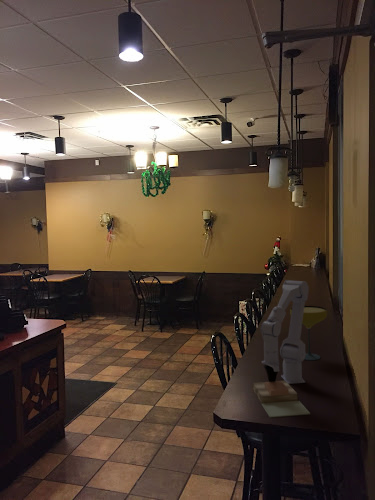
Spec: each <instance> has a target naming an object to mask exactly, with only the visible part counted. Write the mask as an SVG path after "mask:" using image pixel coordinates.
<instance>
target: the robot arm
mask: <svg viewBox="0 0 375 500" xmlns="http://www.w3.org/2000/svg"><path fill="white" fill-rule="evenodd" d="M281 289H282V294H281V296H280V298H279V301H278V302H277V306H274V307H273V308H272V310H271V312H270V313H269V315H268V317H267V319H266V320H264V321H263V322H262V323H261V325H260V329H259V331H260V333H261V336H262V340H263V356H264V357H263V360H262V361H261V364H262V365H263V367H264V370H265V372H266V375H267V379H268V382H275V381H277V376H278V373H279V372H280V369H281V367H280V360H279V355H280V357H281V358H282V360H283V361H282V374H281V375H280V377H281V378H282V379H283V381H286V382H287V383H288V384H289V385H291V384H303V383H306V381H305V379H304V378H303V372H302V371H303V370H302V369H303V365H302V362H304V361H305V360H304V359H305V356H306V353H307V352H306V344H305V342H304V341H303V340H302V339H301V334H302V326H303V324H302V320H303V313H304V306H306V305H305V304H306V301H308V297H309V291H310V287H309V284H308V283H307V281H305V280H303V281H302V280H301V281H300V280H291V279H290V280H289V279H286V280H284V282H283V284H282V288H281ZM291 302H292V306H291V308H292V313H291V315H290V322H289V328H288V336H287V337H286V338H285V339H284V340H282V343H281V346H280V349H279V336H280V334H281V329H282V323H283V321H284V319H285V317H286V315H287V312H286V310H287V308H288V306H289V304H290V303H291Z"/></svg>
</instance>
